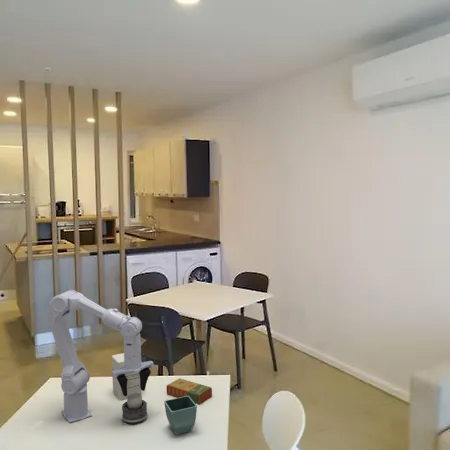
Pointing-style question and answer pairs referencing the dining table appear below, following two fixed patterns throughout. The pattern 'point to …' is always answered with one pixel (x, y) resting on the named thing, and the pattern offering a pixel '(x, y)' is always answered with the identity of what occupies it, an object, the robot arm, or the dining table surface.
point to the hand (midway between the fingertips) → (133, 392)
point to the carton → (189, 390)
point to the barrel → (134, 414)
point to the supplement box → (133, 377)
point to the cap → (134, 401)
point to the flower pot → (181, 414)
